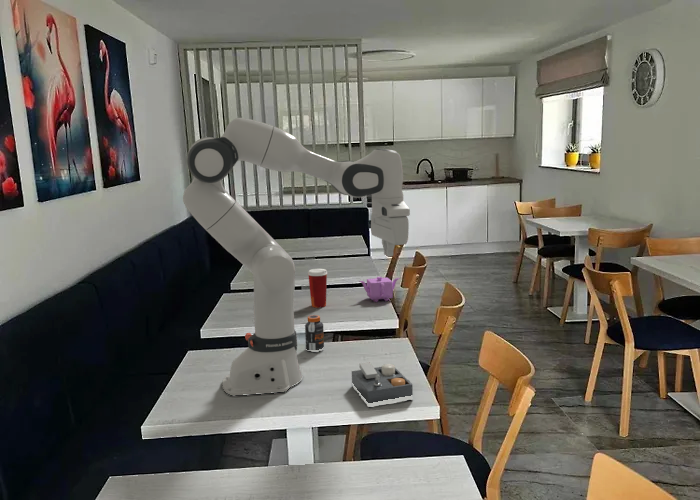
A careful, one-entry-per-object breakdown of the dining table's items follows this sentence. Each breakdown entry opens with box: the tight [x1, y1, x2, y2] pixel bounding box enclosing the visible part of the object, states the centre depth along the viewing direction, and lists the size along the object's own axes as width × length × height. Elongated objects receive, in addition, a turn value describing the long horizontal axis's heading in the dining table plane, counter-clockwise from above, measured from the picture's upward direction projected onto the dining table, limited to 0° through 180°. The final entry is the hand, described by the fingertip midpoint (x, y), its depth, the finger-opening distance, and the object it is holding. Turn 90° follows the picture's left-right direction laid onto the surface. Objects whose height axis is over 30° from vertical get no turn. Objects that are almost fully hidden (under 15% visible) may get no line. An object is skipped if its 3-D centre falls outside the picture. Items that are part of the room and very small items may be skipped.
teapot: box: [358, 276, 400, 303], centre depth 246 cm, size 18×13×10 cm
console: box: [351, 366, 413, 403], centre depth 153 cm, size 12×14×8 cm
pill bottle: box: [304, 314, 325, 351], centre depth 187 cm, size 6×6×11 cm
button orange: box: [391, 378, 405, 386], centre depth 151 cm, size 4×4×4 cm
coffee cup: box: [307, 268, 328, 309], centre depth 238 cm, size 8×8×15 cm
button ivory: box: [381, 363, 396, 376], centre depth 157 cm, size 4×4×4 cm
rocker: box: [359, 361, 377, 379], centre depth 155 cm, size 3×6×1 cm, turn 17°
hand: (388, 255), depth 164 cm, fingers closed
